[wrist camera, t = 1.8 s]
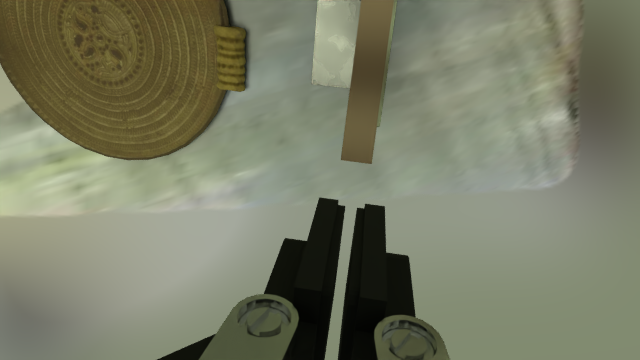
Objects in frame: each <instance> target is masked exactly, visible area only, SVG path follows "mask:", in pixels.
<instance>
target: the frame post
mask: <svg viewBox="0 0 640 360" xmlns="http://www.w3.org/2000/svg"><path fill="white" fill-rule="evenodd" d="M360 6H361V0H318V5H317V18H316V30H315V43H314V56H313V69H312V82H311V84H315V85H324V86H333V87H341V88H350V85H351V77H352V69H353V61H354V53H355V46H356V38H357V30H358V22H359V14H360Z"/></svg>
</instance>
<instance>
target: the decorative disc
mask: <svg viewBox="0 0 640 360" xmlns="http://www.w3.org/2000/svg"><path fill="white" fill-rule="evenodd" d="M245 36H246V32H245V30H244V29H243V28H240V27H233V26H229V20H228V14H227V9H226V6H225V3H224V0H0V63H1V66H2V68H3V70H4V71H5V73H6V75H7V77H8V78H9V80H10V82H11V83H12V84H13V86H14V87H15V89H16V90H17V91H18V92H19V94H20V95H21V96H22V98H23V99H24V100H25V102H26V103H27V104H28V105H29V107H30V108H31V109H32V110H33V111H34V112H35V113H36V114H37V115H38V116H39V117H40V118H41V119H42V120H43V121H44V122H46V123H47V124H48V125H50V126H51V127H52V128H53V129H55V130H56V131H57V132H59V133H60V134H61V135H63V136H64V137H65V138H67V139H69V140H70V141H72V142H74V143H76V144H78V145H80V146H81V147H83V148H85V149H88V150H91V151H93V152H96V153H99V154H102V155H104V156H107V157H113V158H119V159H125V160H148V159H153V158H157V157H161V156H165V155H169V154H171V153H173V152H175V151H177V150H179V149H181V148H183V147H185V146H187V145H188V144H190V143H191V142H192V141H193V140H194V139H195V138H197V137H198V136H199V135H200V134H201V133H202V132H204V130H205V129H206V127H207V126H208V125H209V123H210V122H211V121H212V119H213V118H214V117H215V115H216V114H217V112H218V109H219V107H220V105H221V102H222V100H223V98H224V95H225V93H226V90H232V91H238V92H241V91H244V90H245V85H244V81H245V76H244V73H245V67H244V65H245V63H246V60H245V57H244V55H245V50H244V47H245V43H244V41H243V40H244V39H245Z"/></svg>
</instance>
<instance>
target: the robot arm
mask: <svg viewBox="0 0 640 360" xmlns="http://www.w3.org/2000/svg"><path fill="white" fill-rule="evenodd" d="M344 212H345V206H341V205H338V200H334V199H326V198H319V200H318V204H317V208H316V211H315V215H314V219H313V222H312V225H311V229H310V233H309V236H308V240H307V241H302V240H295V239H288V238H285V239H284V241H283V244H282V246H281V249H280V252H279V254H278V257H277V260H276V262H275V265H274V268H273V270H272V273H271V276H270V279H269V281H268V284H267V287H266V290H265V292H264V294H259V295H254V296H251V297H247V298H245V299H244V300H242V301H240V302H239V303H238V304H237V305H236V306H235V307H234V308H233V309H232V311H231V312H230V314H229V315H228V317H227V318H226V320H225V321H224V323H223V324H222V326H221V327H220V329H219V331H218V332H217V333H216V334H214V335H212V336H210V337H207V338H205V339H203V340H201V341H198V342H196V343H194V344H191V345H189V346H187V347H185V348H182V349H180V350H178V351H175V352H173V353H171V354H169V355H167V356H164V357H162V358H160V359H157V360H324V359H325V352H326V346H327V338H328V331H329V325H330V318H331V311H332V304H333V297H334V290H335V283H336V275H337V267H338V259H339V251H340V243H341V236H342V228H343V220H344ZM385 236H386V234H385V207H384V206H378V205H370V204H365V208H364V209H363V208H357V212H356V219H355V226H354V233H353V240H352V247H351V254H350V262H349V268H348V276H347V283H346V291H345V299H344V307H343V317H342V326H341V335H340V344H339V354H338V360H450V358H449V355H448V352H447V349H446V346H445V344H444V341H443V339H442V338H441V336H440V334H439V333H438V332H437V331H436V330H435V329H434V328H433V327H432V326H431V325H429V324H428V323H426V322H424V321H423V320H421V319H418V318H416V317H415V309H414V299H413V290H412V281H411V272H410V263H409V257H408V256H406V255H399V254H392V253H386V237H385Z"/></svg>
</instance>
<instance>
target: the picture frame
mask: <svg viewBox="0 0 640 360" xmlns="http://www.w3.org/2000/svg"><path fill="white" fill-rule="evenodd" d="M396 6H397V0H361V6H360V14H359V22H358V30H357V38H356V46H355V53H354V61H353V69H352V77H351V85H350V93H349V100H348V108H347V116H346V124H345V132H344V139H343V147H342V155H341V160H345V161H353V162H361V163H368V164H372V157H373V150H374V142H375V135H376V128H377V127H379V126H380V122H381V115H382V107H383V100H384V93H385V85H386V78H387V71H388V64H389V56H390V49H391V42H392V35H393V27H394V20H395V13H396Z"/></svg>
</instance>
